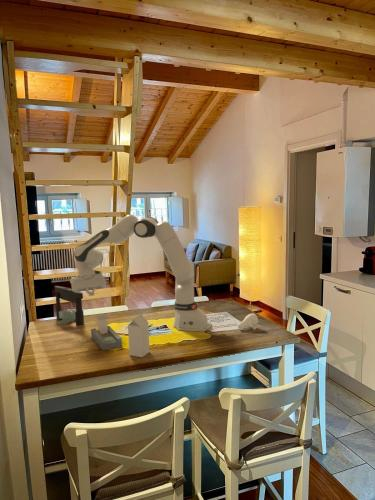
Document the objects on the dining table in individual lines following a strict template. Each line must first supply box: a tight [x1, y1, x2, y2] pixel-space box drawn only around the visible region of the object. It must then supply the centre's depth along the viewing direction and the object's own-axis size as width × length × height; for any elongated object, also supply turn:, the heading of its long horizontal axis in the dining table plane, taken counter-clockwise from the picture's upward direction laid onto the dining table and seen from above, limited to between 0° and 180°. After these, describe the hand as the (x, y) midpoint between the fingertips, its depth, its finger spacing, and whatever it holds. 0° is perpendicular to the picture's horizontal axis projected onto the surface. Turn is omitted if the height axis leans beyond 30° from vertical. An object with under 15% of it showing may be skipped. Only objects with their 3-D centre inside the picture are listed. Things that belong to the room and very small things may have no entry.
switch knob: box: [96, 313, 109, 334], centre depth 192 cm, size 5×5×9 cm
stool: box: [54, 285, 85, 326], centre depth 224 cm, size 16×21×33 cm
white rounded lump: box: [237, 313, 259, 331], centre depth 202 cm, size 6×8×12 cm
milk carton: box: [127, 313, 150, 358], centre depth 171 cm, size 7×7×19 cm
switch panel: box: [90, 325, 123, 351], centre depth 189 cm, size 22×10×4 cm, turn 29°
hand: (91, 295), depth 208 cm, fingers closed
